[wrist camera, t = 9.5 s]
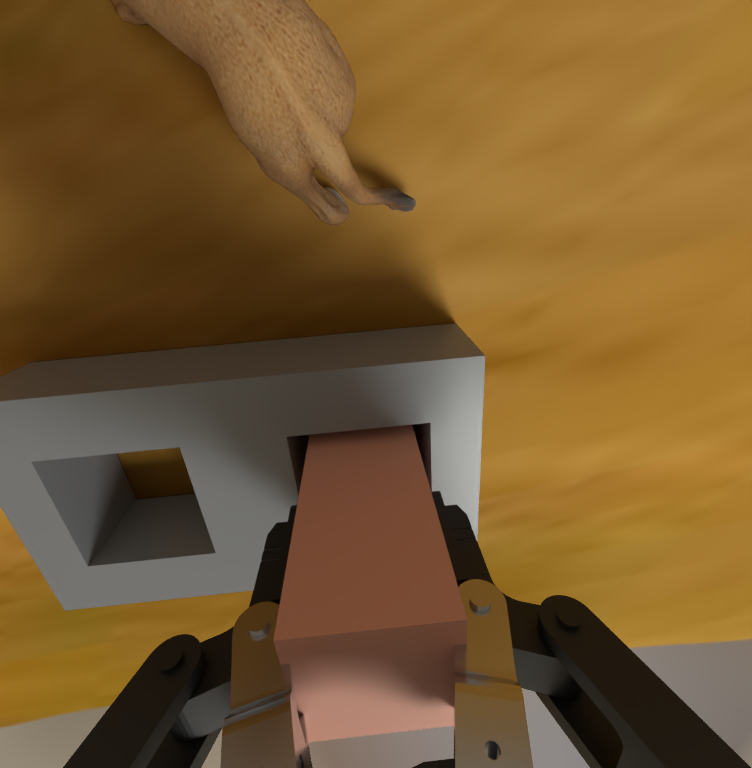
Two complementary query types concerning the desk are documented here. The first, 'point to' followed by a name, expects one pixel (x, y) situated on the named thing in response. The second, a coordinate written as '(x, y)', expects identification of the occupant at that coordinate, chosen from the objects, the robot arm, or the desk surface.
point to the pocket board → (215, 450)
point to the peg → (369, 590)
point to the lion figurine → (275, 90)
